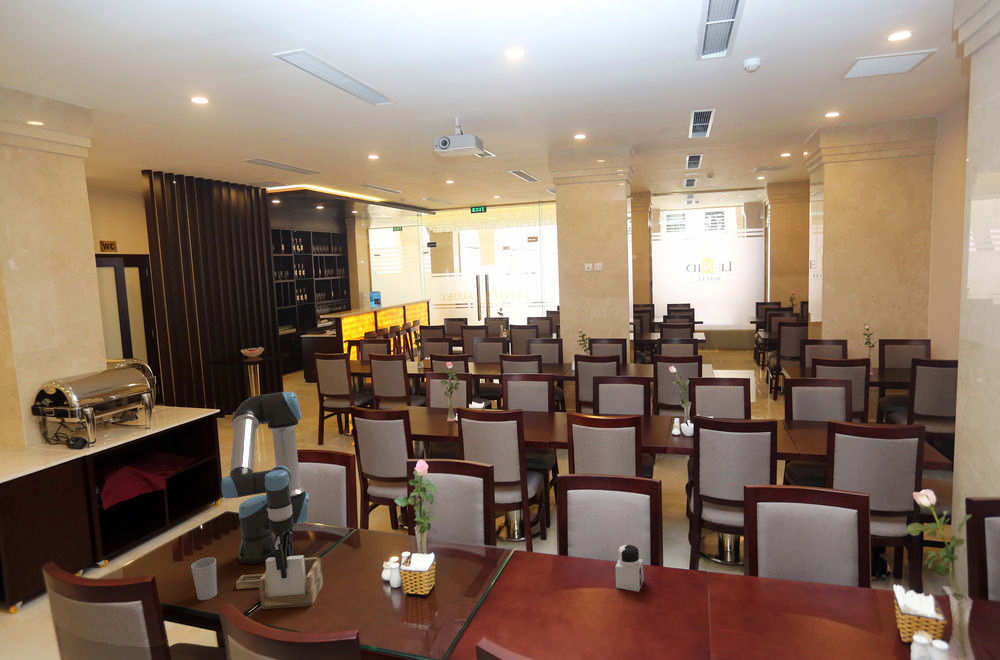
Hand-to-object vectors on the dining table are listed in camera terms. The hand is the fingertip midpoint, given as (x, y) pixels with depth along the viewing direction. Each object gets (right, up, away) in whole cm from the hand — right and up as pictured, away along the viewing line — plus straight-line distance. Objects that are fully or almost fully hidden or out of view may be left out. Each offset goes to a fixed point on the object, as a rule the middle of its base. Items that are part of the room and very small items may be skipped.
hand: (287, 583), depth 199 cm
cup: (-32, -8, +9) cm, 34 cm away
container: (+116, 0, -1) cm, 116 cm away
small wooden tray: (-16, -7, +15) cm, 22 cm away
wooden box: (0, -7, +5) cm, 8 cm away
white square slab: (0, -4, 0) cm, 4 cm away
